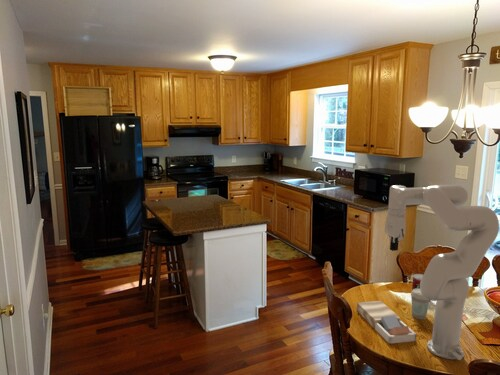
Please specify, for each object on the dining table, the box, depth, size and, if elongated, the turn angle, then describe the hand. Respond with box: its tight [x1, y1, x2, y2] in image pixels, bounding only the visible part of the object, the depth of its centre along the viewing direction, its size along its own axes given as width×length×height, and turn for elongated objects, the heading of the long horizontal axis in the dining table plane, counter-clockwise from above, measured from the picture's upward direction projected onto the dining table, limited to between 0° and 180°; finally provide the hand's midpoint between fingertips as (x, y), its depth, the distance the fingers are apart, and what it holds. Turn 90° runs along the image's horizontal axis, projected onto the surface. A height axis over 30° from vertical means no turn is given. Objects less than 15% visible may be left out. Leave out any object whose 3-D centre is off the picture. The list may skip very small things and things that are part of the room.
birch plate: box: [356, 300, 401, 330], centre depth 173 cm, size 16×12×4 cm
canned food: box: [411, 273, 424, 291], centre depth 194 cm, size 8×8×11 cm
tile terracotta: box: [388, 325, 410, 335], centre depth 156 cm, size 6×6×2 cm
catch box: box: [374, 319, 417, 344], centre depth 159 cm, size 11×12×3 cm
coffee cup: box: [410, 289, 430, 320], centre depth 174 cm, size 8×8×12 cm
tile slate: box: [381, 316, 401, 332], centre depth 161 cm, size 6×6×2 cm
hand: (393, 249), depth 178 cm, fingers closed
